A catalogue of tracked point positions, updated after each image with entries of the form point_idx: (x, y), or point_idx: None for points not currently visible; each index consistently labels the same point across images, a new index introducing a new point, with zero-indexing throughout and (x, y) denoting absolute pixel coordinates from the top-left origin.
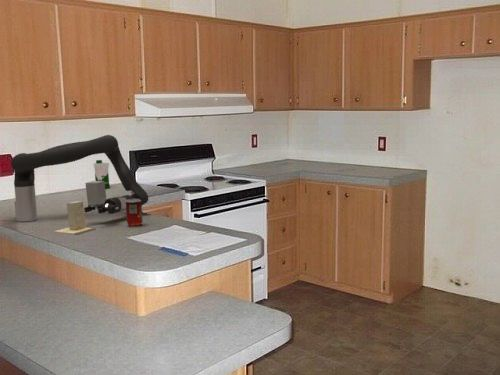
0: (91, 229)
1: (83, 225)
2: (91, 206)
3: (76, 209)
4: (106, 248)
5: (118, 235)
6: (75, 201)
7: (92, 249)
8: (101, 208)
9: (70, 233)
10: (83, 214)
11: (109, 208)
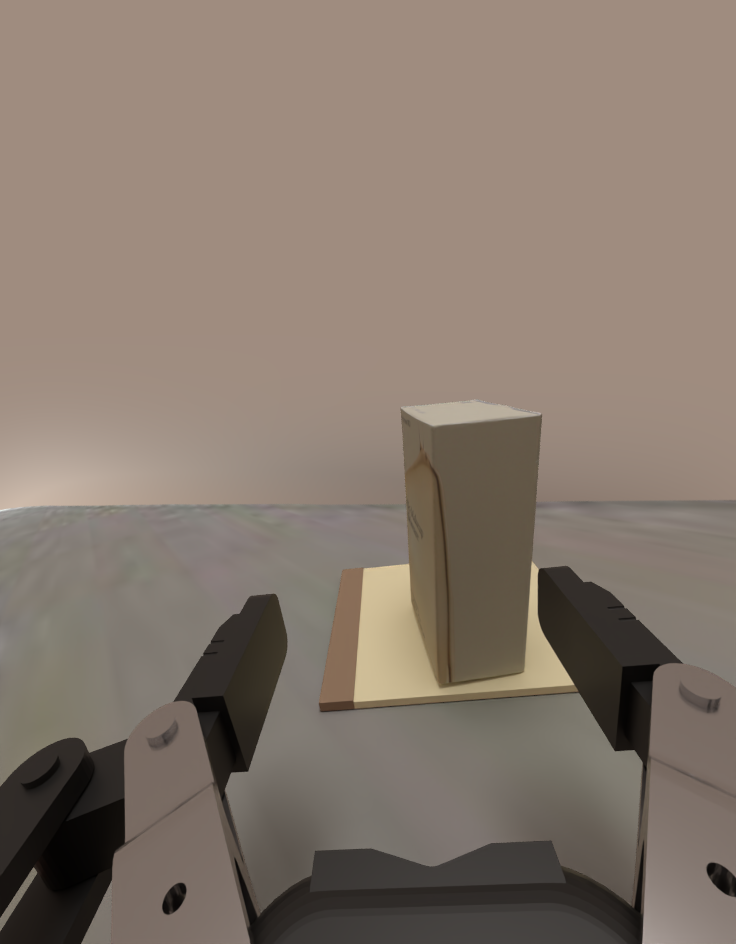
0: (326, 661)
1: (429, 642)
2: (650, 690)
3: (407, 467)
4: (114, 536)
5: (58, 656)
6: (515, 412)
7: (162, 521)
8: (234, 625)
9: (394, 568)
10: (430, 563)
11: (77, 759)
